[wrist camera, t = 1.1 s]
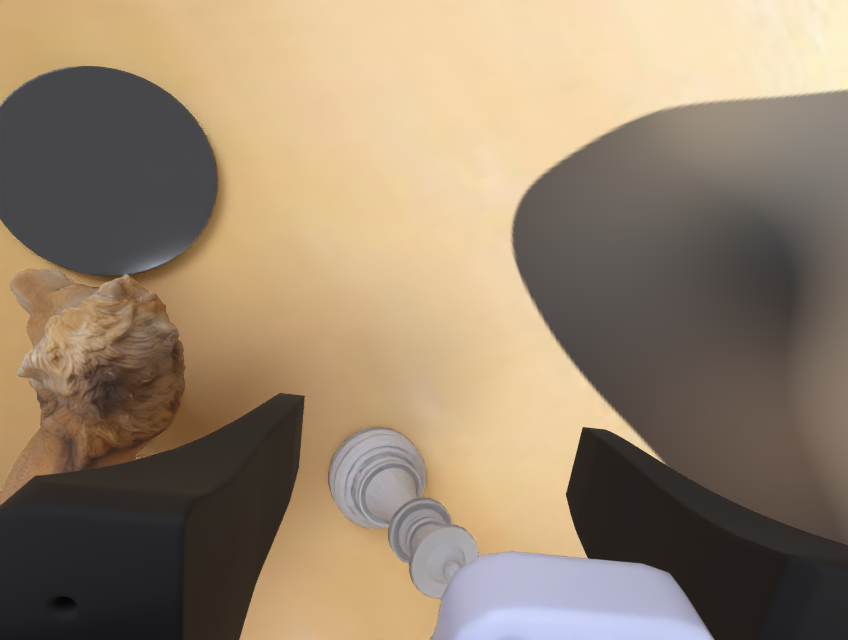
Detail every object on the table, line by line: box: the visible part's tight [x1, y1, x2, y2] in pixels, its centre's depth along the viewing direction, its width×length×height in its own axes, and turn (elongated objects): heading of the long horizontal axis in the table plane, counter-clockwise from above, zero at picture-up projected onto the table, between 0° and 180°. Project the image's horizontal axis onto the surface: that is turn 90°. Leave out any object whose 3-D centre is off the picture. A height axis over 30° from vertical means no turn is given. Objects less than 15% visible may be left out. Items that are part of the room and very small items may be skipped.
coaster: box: [0, 66, 217, 276], centre depth 21 cm, size 8×8×1 cm
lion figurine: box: [0, 269, 185, 505], centre depth 18 cm, size 15×5×9 cm, turn 156°
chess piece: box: [329, 427, 479, 599], centre depth 21 cm, size 4×4×10 cm
